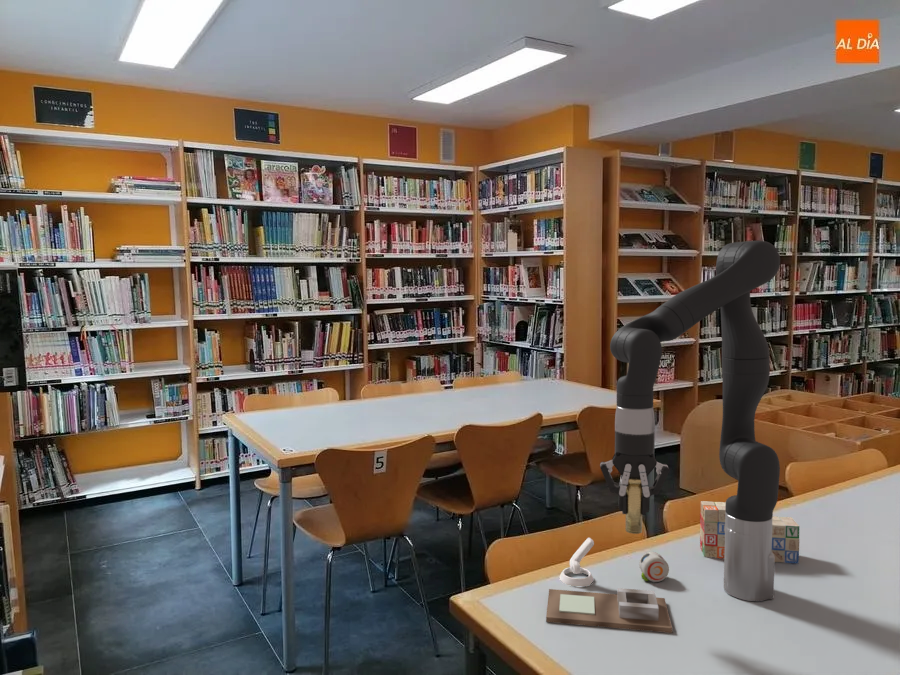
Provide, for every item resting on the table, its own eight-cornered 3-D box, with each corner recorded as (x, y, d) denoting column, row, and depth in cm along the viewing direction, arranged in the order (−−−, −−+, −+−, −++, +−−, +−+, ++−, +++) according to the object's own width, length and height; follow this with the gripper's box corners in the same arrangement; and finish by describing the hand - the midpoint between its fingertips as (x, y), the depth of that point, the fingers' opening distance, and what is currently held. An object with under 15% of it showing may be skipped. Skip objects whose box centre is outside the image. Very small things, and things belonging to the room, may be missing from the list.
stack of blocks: (791, 553, 160) (792, 505, 159) (799, 564, 154) (800, 514, 153) (699, 547, 164) (700, 500, 163) (703, 557, 158) (704, 508, 157)
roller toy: (636, 574, 149) (637, 550, 149) (663, 573, 150) (664, 549, 149) (643, 583, 145) (643, 558, 145) (671, 582, 145) (671, 557, 145)
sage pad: (594, 598, 137) (594, 596, 137) (594, 614, 130) (594, 613, 130) (560, 595, 138) (560, 594, 138) (559, 611, 131) (559, 610, 131)
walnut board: (664, 602, 136) (664, 586, 136) (672, 633, 125) (672, 615, 124) (549, 593, 141) (549, 577, 141) (546, 621, 129) (546, 605, 129)
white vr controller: (619, 564, 143) (595, 550, 141) (585, 603, 145) (561, 590, 144) (607, 544, 150) (584, 530, 148) (576, 582, 152) (553, 568, 151)
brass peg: (643, 527, 132) (643, 474, 131) (645, 535, 128) (645, 480, 127) (622, 526, 133) (623, 473, 132) (624, 533, 129) (624, 479, 128)
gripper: (669, 425, 131) (668, 508, 132) (597, 423, 133) (597, 505, 135) (674, 434, 123) (673, 522, 125) (598, 431, 126) (598, 518, 128)
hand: (633, 512), depth 130 cm, fingers closed on brass peg, 3 cm apart
